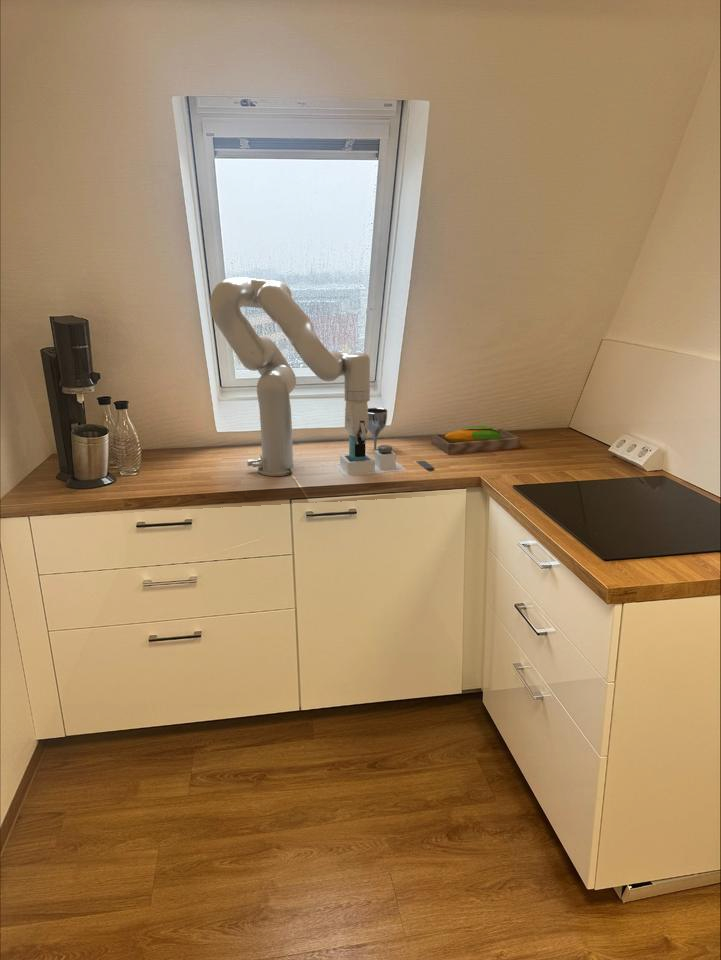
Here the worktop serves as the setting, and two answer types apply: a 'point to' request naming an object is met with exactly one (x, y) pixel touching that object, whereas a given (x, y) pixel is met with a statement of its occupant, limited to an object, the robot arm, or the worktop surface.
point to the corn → (473, 434)
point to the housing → (369, 464)
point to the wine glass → (376, 422)
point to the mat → (425, 465)
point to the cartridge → (353, 448)
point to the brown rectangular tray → (476, 443)
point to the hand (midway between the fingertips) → (357, 453)
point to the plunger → (385, 449)
